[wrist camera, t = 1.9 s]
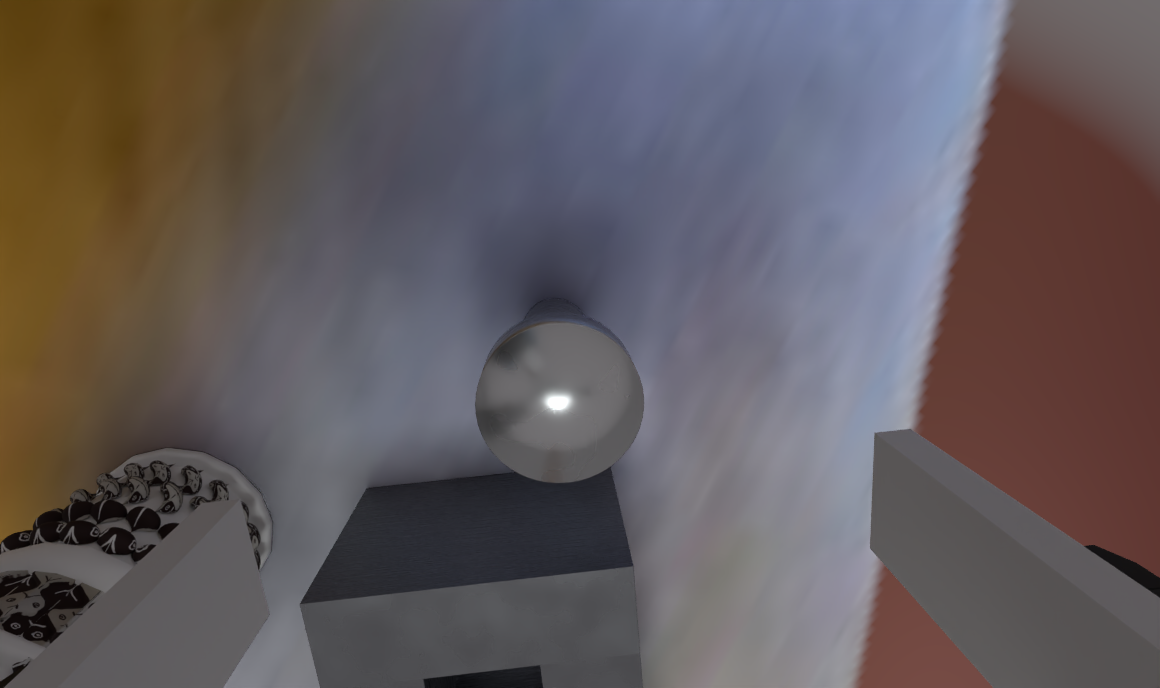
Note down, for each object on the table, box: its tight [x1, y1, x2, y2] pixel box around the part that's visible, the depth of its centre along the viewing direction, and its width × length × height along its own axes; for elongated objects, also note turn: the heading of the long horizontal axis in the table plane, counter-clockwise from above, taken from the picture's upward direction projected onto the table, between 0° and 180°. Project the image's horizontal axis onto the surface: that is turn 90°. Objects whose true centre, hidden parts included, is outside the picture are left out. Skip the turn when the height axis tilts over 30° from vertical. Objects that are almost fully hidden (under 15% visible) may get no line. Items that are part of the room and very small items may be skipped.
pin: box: [475, 298, 644, 483], centre depth 24 cm, size 5×5×10 cm
